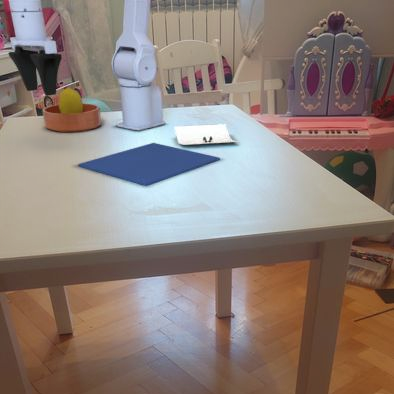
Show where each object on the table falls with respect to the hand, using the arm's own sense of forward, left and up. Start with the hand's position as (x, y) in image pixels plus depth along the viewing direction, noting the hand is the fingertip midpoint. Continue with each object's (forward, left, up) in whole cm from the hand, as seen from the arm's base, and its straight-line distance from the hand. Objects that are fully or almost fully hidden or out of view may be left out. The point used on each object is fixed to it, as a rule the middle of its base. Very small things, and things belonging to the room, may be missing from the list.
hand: (41, 92), depth 100 cm
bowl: (-13, -9, -10) cm, 19 cm away
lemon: (-13, -9, -10) cm, 19 cm away
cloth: (-3, +27, -10) cm, 29 cm away
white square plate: (-22, +25, -10) cm, 35 cm away
